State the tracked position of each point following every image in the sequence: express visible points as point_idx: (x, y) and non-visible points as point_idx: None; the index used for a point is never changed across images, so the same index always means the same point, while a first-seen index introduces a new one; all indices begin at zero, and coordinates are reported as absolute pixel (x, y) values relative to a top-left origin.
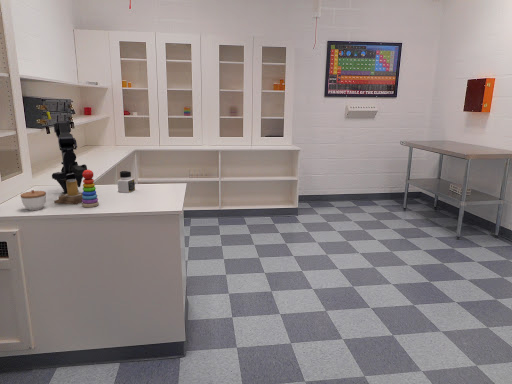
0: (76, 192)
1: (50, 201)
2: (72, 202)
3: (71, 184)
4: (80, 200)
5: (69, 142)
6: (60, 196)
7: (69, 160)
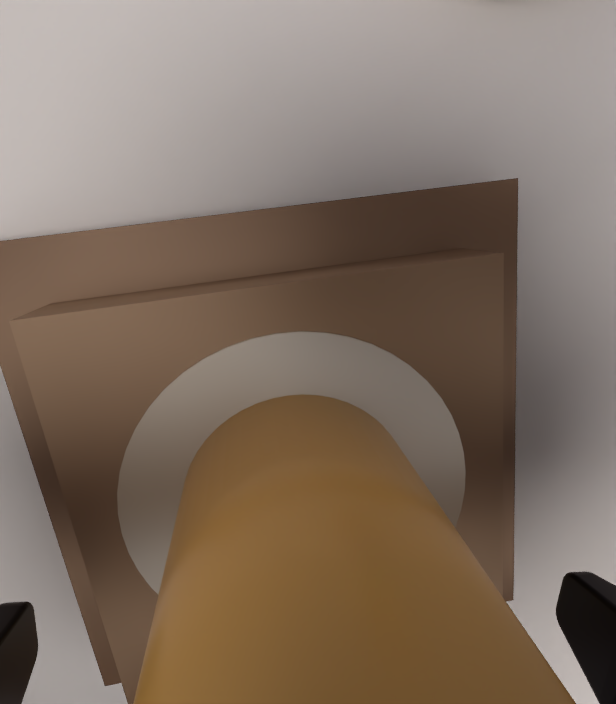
0: (318, 419)
1: None
2: (509, 274)
3: (564, 691)
4: (385, 199)
5: None
6: None
7: None
